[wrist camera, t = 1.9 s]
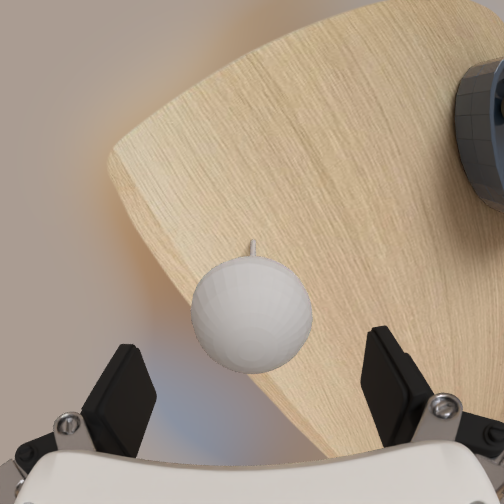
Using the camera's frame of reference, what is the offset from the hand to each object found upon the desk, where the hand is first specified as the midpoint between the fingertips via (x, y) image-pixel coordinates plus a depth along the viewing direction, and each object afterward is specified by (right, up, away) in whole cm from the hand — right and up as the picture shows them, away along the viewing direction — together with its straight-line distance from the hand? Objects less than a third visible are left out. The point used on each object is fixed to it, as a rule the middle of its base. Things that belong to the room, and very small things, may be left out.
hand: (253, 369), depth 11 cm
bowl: (+28, +17, +10) cm, 35 cm away
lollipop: (0, +6, +15) cm, 16 cm away
